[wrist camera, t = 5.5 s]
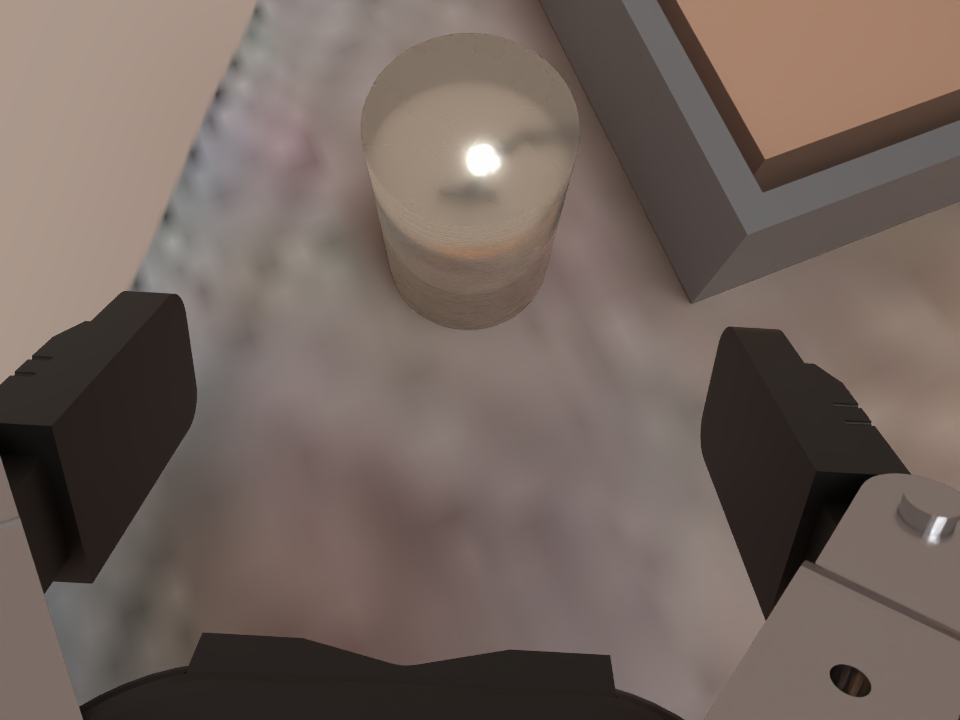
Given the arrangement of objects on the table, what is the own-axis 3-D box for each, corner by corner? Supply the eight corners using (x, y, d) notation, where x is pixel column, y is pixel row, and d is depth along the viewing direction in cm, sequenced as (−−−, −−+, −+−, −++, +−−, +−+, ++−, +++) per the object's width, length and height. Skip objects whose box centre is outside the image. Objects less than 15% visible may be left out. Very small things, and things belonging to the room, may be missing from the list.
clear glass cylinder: (510, 164, 28) (529, 7, 21) (571, 296, 27) (615, 181, 19) (367, 214, 28) (330, 71, 20) (422, 352, 26) (406, 256, 19)
